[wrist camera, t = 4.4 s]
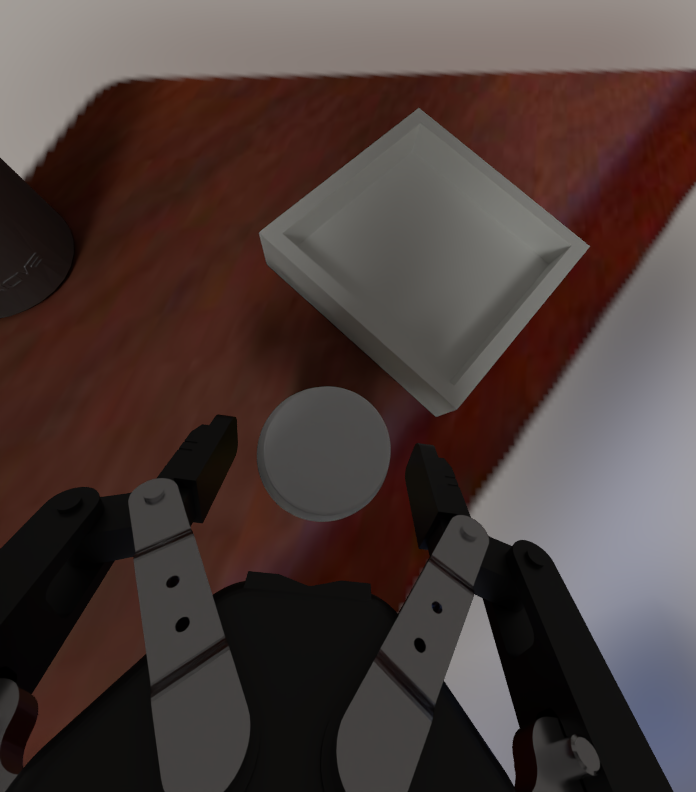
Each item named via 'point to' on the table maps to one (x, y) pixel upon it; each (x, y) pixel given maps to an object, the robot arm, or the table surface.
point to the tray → (423, 258)
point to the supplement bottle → (323, 453)
